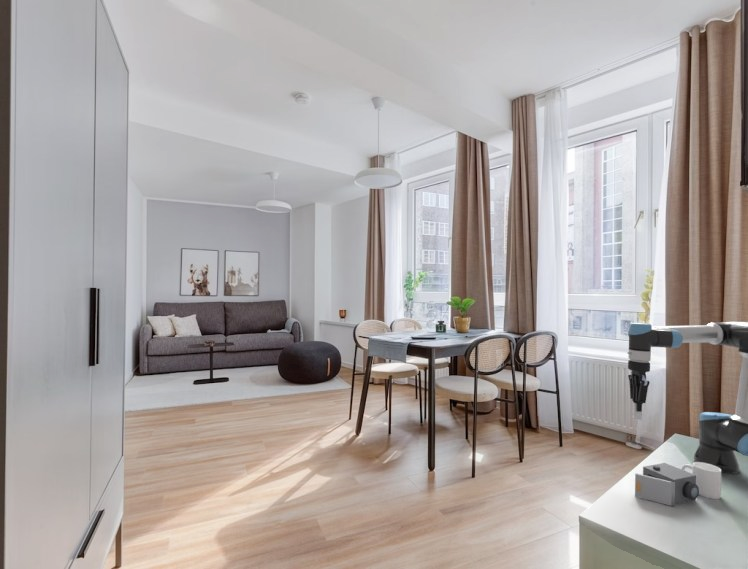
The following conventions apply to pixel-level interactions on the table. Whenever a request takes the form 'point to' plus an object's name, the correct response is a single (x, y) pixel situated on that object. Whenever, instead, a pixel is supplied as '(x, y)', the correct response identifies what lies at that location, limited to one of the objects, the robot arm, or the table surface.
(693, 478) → the camera body
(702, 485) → the cup
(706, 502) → the table surface
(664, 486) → the side door
